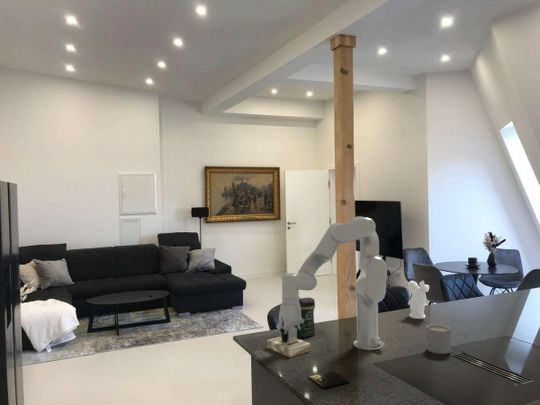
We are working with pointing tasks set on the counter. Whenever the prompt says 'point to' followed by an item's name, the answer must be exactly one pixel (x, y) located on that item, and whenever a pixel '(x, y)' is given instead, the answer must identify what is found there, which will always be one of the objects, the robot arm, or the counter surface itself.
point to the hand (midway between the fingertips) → (290, 339)
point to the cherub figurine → (417, 299)
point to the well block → (288, 347)
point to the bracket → (291, 336)
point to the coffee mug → (438, 339)
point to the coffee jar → (307, 316)
